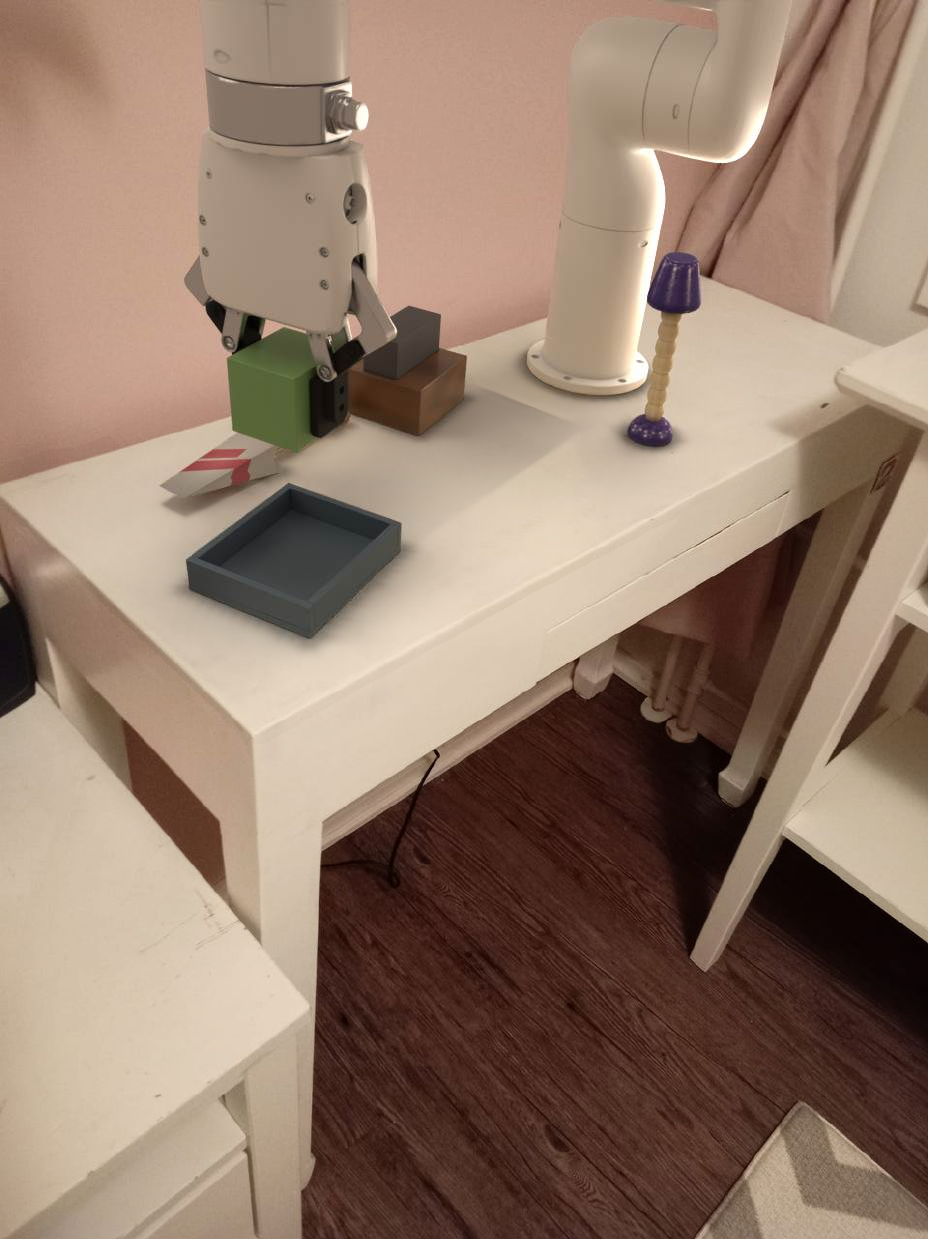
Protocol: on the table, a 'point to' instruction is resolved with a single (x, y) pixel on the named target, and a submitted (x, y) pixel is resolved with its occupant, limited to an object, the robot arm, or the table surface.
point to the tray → (295, 558)
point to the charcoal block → (406, 343)
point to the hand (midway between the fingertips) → (291, 414)
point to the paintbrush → (227, 466)
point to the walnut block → (409, 393)
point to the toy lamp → (666, 340)
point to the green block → (273, 389)
